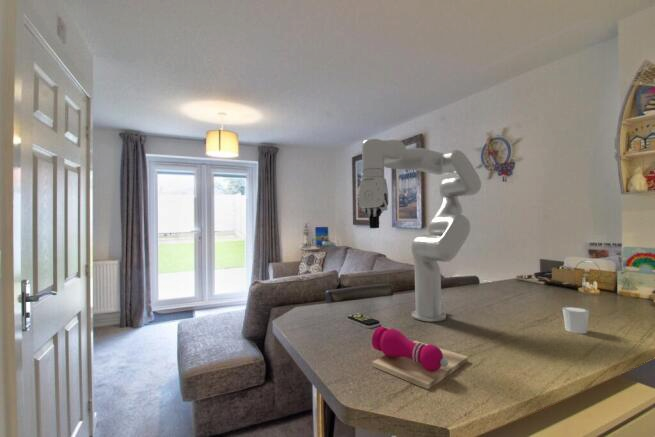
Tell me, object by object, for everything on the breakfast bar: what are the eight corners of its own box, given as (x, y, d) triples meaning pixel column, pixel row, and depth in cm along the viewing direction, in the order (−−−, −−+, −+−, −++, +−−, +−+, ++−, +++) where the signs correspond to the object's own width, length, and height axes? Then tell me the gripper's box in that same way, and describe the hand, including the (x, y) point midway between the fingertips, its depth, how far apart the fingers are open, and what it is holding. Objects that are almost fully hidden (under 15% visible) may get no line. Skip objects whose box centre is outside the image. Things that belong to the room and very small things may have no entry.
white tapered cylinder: (583, 328, 106) (583, 307, 106) (593, 335, 100) (592, 313, 100) (559, 326, 109) (559, 305, 109) (567, 333, 102) (567, 311, 102)
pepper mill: (387, 323, 91) (455, 346, 77) (384, 349, 90) (452, 377, 76) (372, 325, 86) (442, 349, 72) (368, 352, 86) (438, 382, 71)
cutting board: (414, 344, 96) (414, 340, 96) (467, 361, 84) (467, 356, 84) (372, 366, 82) (372, 361, 82) (428, 389, 70) (428, 384, 70)
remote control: (368, 329, 110) (368, 324, 110) (346, 320, 121) (346, 315, 121) (381, 326, 114) (381, 320, 114) (358, 317, 124) (358, 312, 124)
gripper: (350, 177, 113) (351, 228, 113) (383, 171, 102) (385, 228, 102) (364, 178, 118) (365, 227, 118) (397, 173, 107) (398, 227, 107)
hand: (374, 227), depth 110 cm, fingers closed
